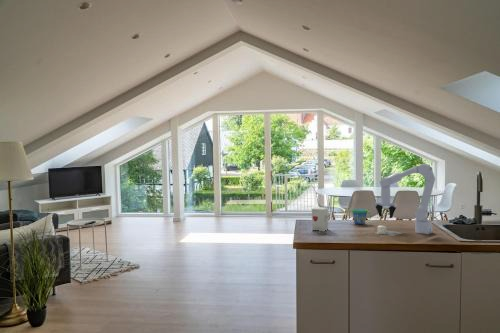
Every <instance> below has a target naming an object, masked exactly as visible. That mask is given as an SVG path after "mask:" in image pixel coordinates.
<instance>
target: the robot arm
mask: <svg viewBox="0 0 500 333" xmlns="http://www.w3.org/2000/svg"><path fill="white" fill-rule="evenodd" d="M433 170H434V169H433V168H432V167H431V166H430V164H428V163H423V164H420V165H416V166H413V167H411V168H409V169H406V170H404V171H402V172H400V173H399V172H393V173H392V174H390V175H387V176H385V177H383V178H382V179H381V180H379V185H380V201H379V202H378V201H375V202H374V206H375V209H376V210H377V212H378V216H379V218H381V217H383V207H388V210H389V218H390V219H393V217H394V214H395V211H396V209H397V207H398V204H397V203H393V202H392V203H391V186H392V185H395V184H397V183H398V182H401V181H402V179H403V178H405V177H407V176H410V175H412V174H419V175H421V176H422V177H423V178H424V180H425V184H424V187H423V193H422V194H421V198H420V203H419V206H418V208H417V210H416V211H415V213H414V217H415V222H414V224H415V225H414V226H415V227H414V228H415V231H414V232H415V233H417V234H426V235H431V234H433V222H432V221H430V220H428V218H427V217H428V215H429V212H428V210H429V209H428V208H429V203H430V200H431V196H432V193H433V190H434V189H433V188H434V186H435V182H436V177H435V173H434V171H433Z"/></svg>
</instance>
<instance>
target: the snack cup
mask: <svg viewBox="0 0 500 333" xmlns="http://www.w3.org/2000/svg"><path fill="white" fill-rule="evenodd" d="M351 213H352V216H353V222H354V224H355V225H364V224H366V220H367V219H366V218H367V214H368V215H369V219H372V215H371V212H370V211H369V210H368V209H365V208H353V209H352V210H349V212H348V219H351Z"/></svg>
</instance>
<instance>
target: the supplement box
mask: <svg viewBox="0 0 500 333" xmlns="http://www.w3.org/2000/svg"><path fill="white" fill-rule="evenodd" d="M327 229H328V230H329V207H324V206H323V207H322V206H321V207H319V206H315V207H313V208H311V231H312V230H319V231H318V232H326V231H328V230H327ZM325 230H326V231H325Z"/></svg>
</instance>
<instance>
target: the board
mask: <svg viewBox="0 0 500 333" xmlns="http://www.w3.org/2000/svg"><path fill="white" fill-rule="evenodd" d="M375 234H377V235H380V234H379V233H378V231H376V232H375ZM401 234H403V232H399V231H393V230H387V229H386V234H382V235H384V236H390V237H394V236H399V235H401Z"/></svg>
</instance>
